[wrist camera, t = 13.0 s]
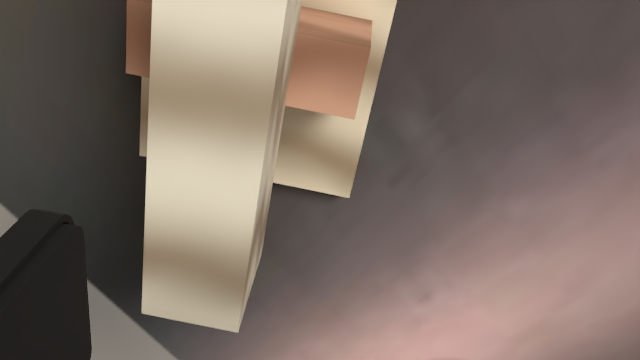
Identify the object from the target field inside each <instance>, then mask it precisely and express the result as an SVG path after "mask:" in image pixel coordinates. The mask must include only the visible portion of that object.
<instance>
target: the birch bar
mask: <svg viewBox="0 0 640 360" xmlns="http://www.w3.org/2000/svg"><path fill="white" fill-rule="evenodd" d="M301 5H302V0H152V22H151V52H150V81H149V110H148V139H147V168H146V197H145V226H144V255H143V284H142V314H147V315H152V316H157V317H162V318H167V319H172V320H177V321H182V322H187V323H192V324H197V325H202V326H207V327H212V328H217V329H222V330H227V331H232V332H237V333H238V331H239V328H240V324H241V321H242V318H243V314H244V311H245V308H246V304H247V301H248V297H249V294H250V291H251V287H252V284H253V281H254V277H255V274H256V271H257V267H258V264H259V261H260V257H261V253H262V247H263V241H264V235H265V228H266V222H267V216H268V210H269V203H270V197H271V191H272V185H273V179H274V172H275V166H276V160H277V154H278V147H279V141H280V135H281V129H282V123H283V116H284V110H285V104H286V98H287V92H288V85H289V79H290V73H291V67H292V60H293V54H294V48H295V42H296V36H297V29H298V23H299V17H300V11H301Z"/></svg>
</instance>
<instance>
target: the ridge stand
mask: <svg viewBox="0 0 640 360" xmlns="http://www.w3.org/2000/svg"><path fill="white" fill-rule="evenodd" d="M396 2H397V0H302V5H301V11H300V17H299V23H298V29H297V36H296V42H295V48H294V54H293V60H292V67H291V73H290V79H289V85H288V92H287V98H286V104H285V110H284V116H283V123H282V129H281V135H280V141H279V147H278V154H277V160H276V166H275V172H274V179H273V183H277V184H282V185H287V186H292V187H297V188H302V189H307V190H312V191H317V192H322V193H327V194H332V195H337V196H342V197H347V198H349V197H350V193H351V189H352V184H353V180H354V176H355V172H356V168H357V164H358V160H359V155H360V151H361V147H362V143H363V139H364V135H365V131H366V126H367V122H368V118H369V114H370V110H371V106H372V102H373V97H374V93H375V89H376V85H377V81H378V77H379V73H380V68H381V64H382V60H383V56H384V52H385V48H386V44H387V40H388V35H389V31H390V27H391V23H392V19H393V15H394V11H395V6H396ZM151 22H152V0H127V27H126V73H128V74H133V75H137V76H142V81H141V117H140V153H139V156H144V157H147V139H148V110H149V81H150V52H151Z"/></svg>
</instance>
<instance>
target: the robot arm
mask: <svg viewBox="0 0 640 360" xmlns="http://www.w3.org/2000/svg"><path fill="white" fill-rule="evenodd" d="M91 349H92V347H91V333H90V319H89V305H88V291H87V278H86V264H85V250H84V236H83V230H82V228H81V227H80V226H76V225H74V223H73V220H72V218H71V216H69V215H66V214H61V213H55V212H49V211H43V210H37V209H32V210H29V211H28V212H26V213H25V214H24V215H23V216H22V217H21V218H20V219H19V220H18V221H17V222H16V223H15V224H14V225H13V226H12V227H11V228H10V229H9V230H8V231H7V232H6V233H4V235H2V237H0V360H90V358H91Z"/></svg>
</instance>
